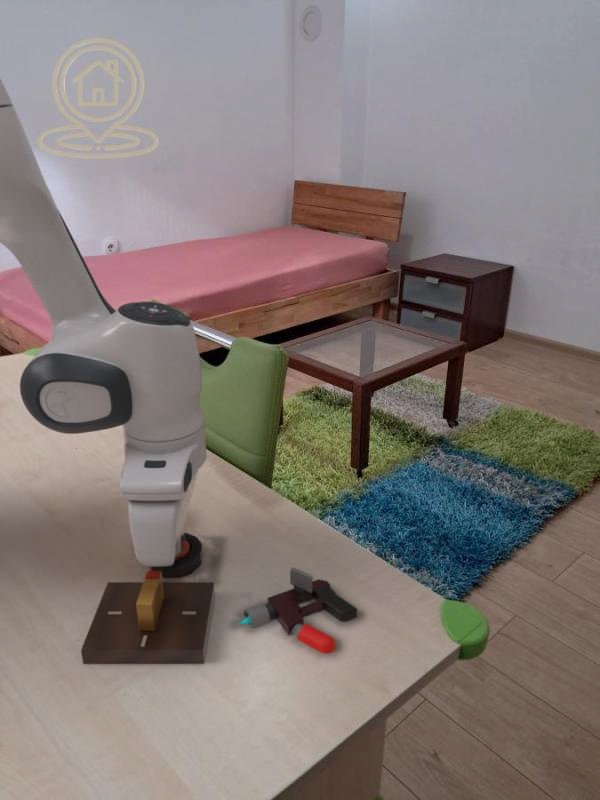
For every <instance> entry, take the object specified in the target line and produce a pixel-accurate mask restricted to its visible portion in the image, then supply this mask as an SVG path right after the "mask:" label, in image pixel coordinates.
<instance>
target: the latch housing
mask: <svg viewBox="0 0 600 800" xmlns="http://www.w3.org/2000/svg"><path fill="white" fill-rule="evenodd" d="M184 537H185V538H184V540H186V541H187V542H188V543H189V545H190V553H189V554H188V555H187V556H186V557H183V558H180V559H177V560H175V561H174V563H173V564H172V565H171V566H163V567H149V566H148V568H149V571H160V572H162V579H163V578H164V579H179V578H182V577H186V576H188V575H192V574H193V573H194V572H195V571H196V570H198V569H199V568H200V567H201V566H202V563H203V558H204V551H203V549H204V548H203V543H202V542H201V540H200V539H199V538H198V536H196V535H193V534H191V533H187V532H184Z"/></svg>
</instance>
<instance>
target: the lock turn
mask: <svg viewBox="0 0 600 800" xmlns="http://www.w3.org/2000/svg"><path fill="white" fill-rule="evenodd" d="M142 582H143V585H142V588H141V591H140V594H139V597H138V600H137V603H136V608H137V616H138V624H139V631H155V628H156V624H157V621H158V617H159V613H160V610H161V606H162V602H163V599H164V592H163V582H164V581H163V577H162V572H160V571H151V570H146V573H145V576H144V579H143V581H142Z"/></svg>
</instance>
